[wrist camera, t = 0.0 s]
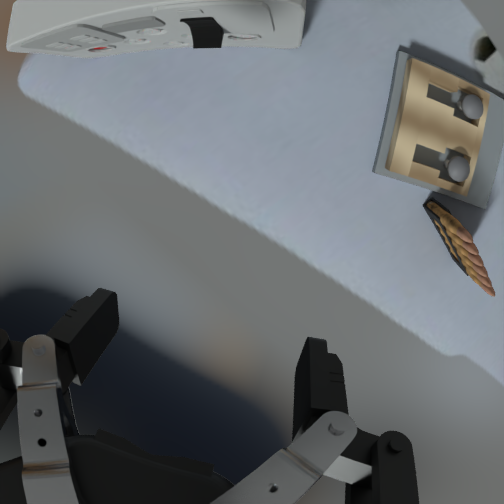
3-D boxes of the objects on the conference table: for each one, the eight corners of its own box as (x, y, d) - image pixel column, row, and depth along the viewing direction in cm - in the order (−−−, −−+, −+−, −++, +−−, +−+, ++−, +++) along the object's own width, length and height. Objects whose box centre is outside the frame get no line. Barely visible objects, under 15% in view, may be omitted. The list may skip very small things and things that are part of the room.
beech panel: (406, 60, 29) (412, 57, 27) (482, 94, 28) (490, 94, 27) (384, 167, 35) (389, 170, 33) (459, 192, 34) (466, 196, 33)
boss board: (396, 52, 30) (409, 45, 25) (505, 103, 29) (525, 105, 25) (372, 171, 37) (382, 179, 32) (481, 207, 36) (498, 218, 32)
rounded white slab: (89, 74, 35) (-6, 73, 19) (93, 26, 32) (3, 5, 15) (299, 68, 33) (305, 31, 16) (302, 13, 29) (309, -56, 13)
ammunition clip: (462, 253, 39) (501, 296, 28) (453, 260, 40) (491, 305, 29) (432, 197, 37) (475, 229, 26) (422, 205, 37) (462, 240, 27)
